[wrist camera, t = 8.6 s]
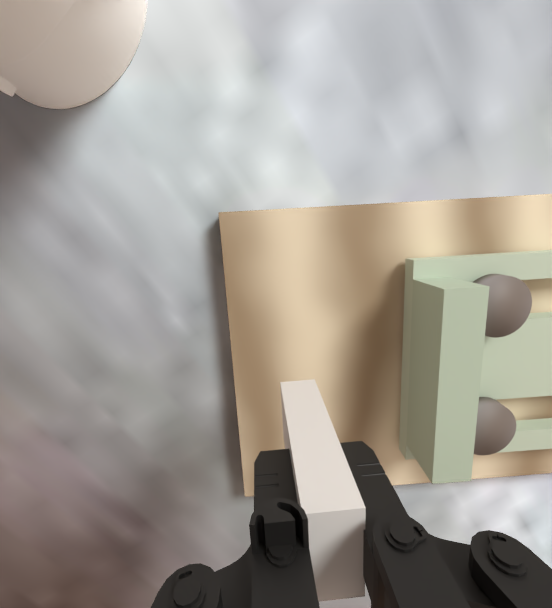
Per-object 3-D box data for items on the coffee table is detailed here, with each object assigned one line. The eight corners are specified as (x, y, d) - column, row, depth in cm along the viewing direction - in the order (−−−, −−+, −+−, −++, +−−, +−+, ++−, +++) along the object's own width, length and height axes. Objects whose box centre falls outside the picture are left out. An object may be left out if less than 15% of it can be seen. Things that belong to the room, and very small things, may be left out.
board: (245, 482, 22) (242, 531, 19) (221, 213, 18) (211, 209, 15) (637, 452, 23) (707, 494, 19) (697, 187, 19) (801, 176, 15)
